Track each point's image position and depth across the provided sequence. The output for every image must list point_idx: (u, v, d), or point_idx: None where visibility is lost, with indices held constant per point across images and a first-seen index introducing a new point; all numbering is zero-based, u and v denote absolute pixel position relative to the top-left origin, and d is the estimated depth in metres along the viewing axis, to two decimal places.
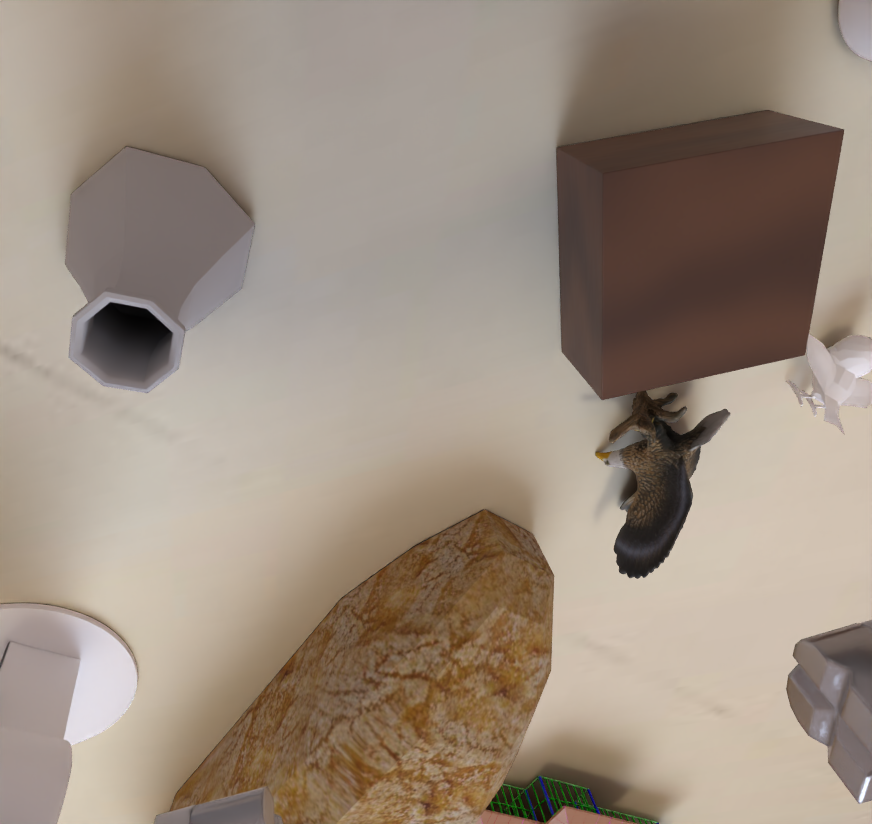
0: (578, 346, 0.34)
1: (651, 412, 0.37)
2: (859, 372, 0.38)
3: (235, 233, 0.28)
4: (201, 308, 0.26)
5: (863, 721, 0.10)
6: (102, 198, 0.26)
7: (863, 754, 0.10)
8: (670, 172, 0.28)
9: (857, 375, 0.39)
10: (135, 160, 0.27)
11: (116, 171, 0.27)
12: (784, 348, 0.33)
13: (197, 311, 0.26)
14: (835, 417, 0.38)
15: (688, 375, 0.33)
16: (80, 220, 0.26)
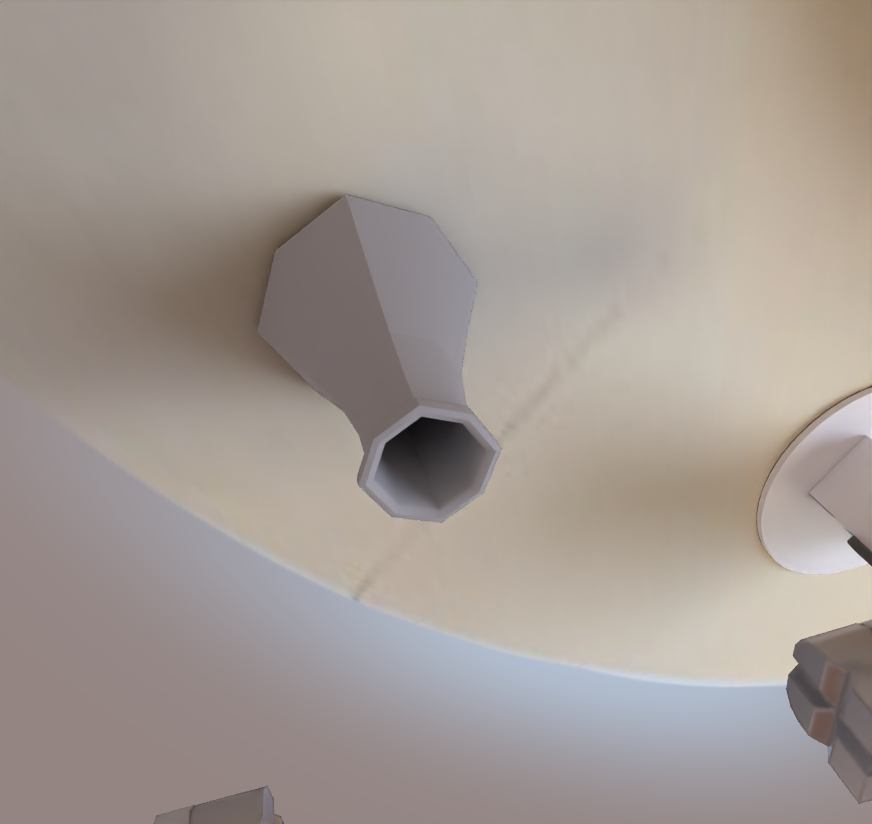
0: None
1: None
2: None
3: (349, 233, 0.22)
4: (429, 310, 0.20)
5: (863, 721, 0.10)
6: (305, 377, 0.23)
7: (863, 755, 0.10)
8: None
9: None
10: (267, 330, 0.24)
11: (279, 353, 0.24)
12: None
13: (430, 320, 0.20)
14: None
15: None
16: (330, 401, 0.24)
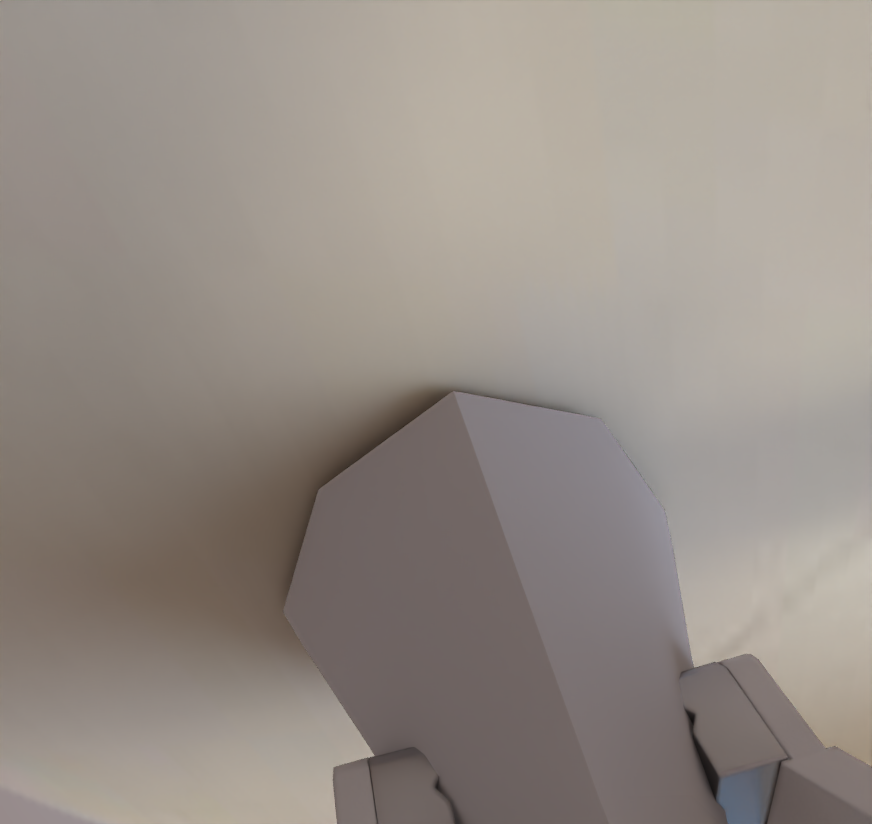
0: None
1: None
2: None
3: (469, 484, 0.11)
4: (656, 691, 0.09)
5: (704, 768, 0.09)
6: None
7: None
8: None
9: None
10: (303, 626, 0.13)
11: None
12: None
13: (666, 723, 0.09)
14: None
15: None
16: None
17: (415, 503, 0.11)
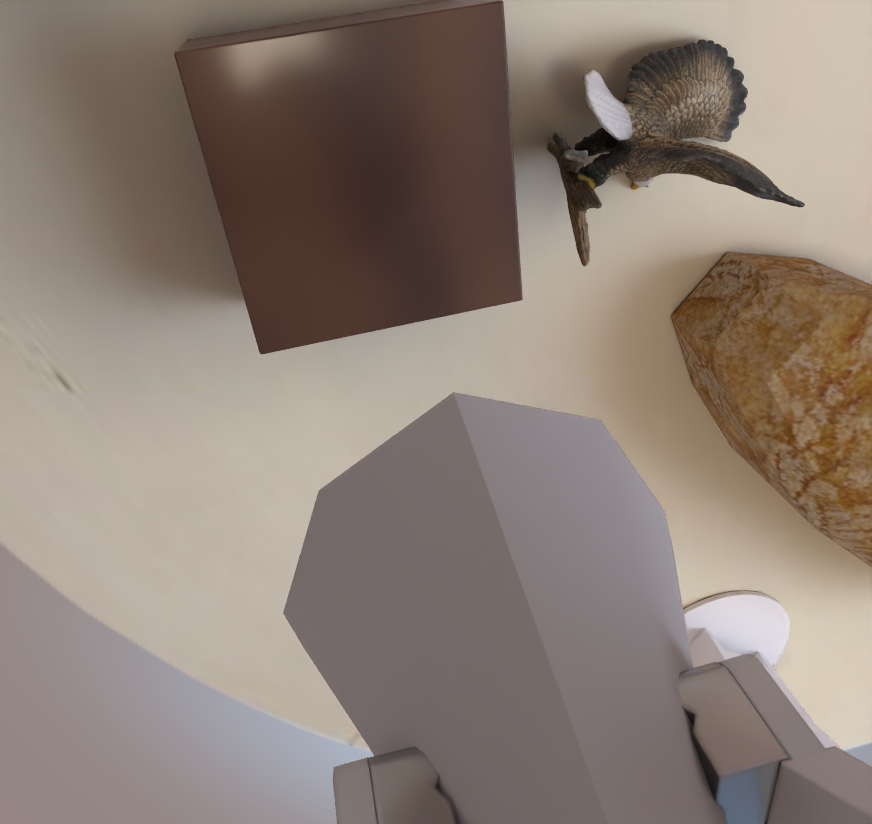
0: None
1: (572, 171, 0.28)
2: None
3: (469, 486, 0.11)
4: (656, 693, 0.09)
5: (704, 767, 0.09)
6: None
7: None
8: (252, 282, 0.25)
9: None
10: (304, 627, 0.13)
11: None
12: (487, 45, 0.23)
13: (665, 725, 0.09)
14: None
15: (507, 193, 0.25)
16: None
17: (415, 504, 0.11)
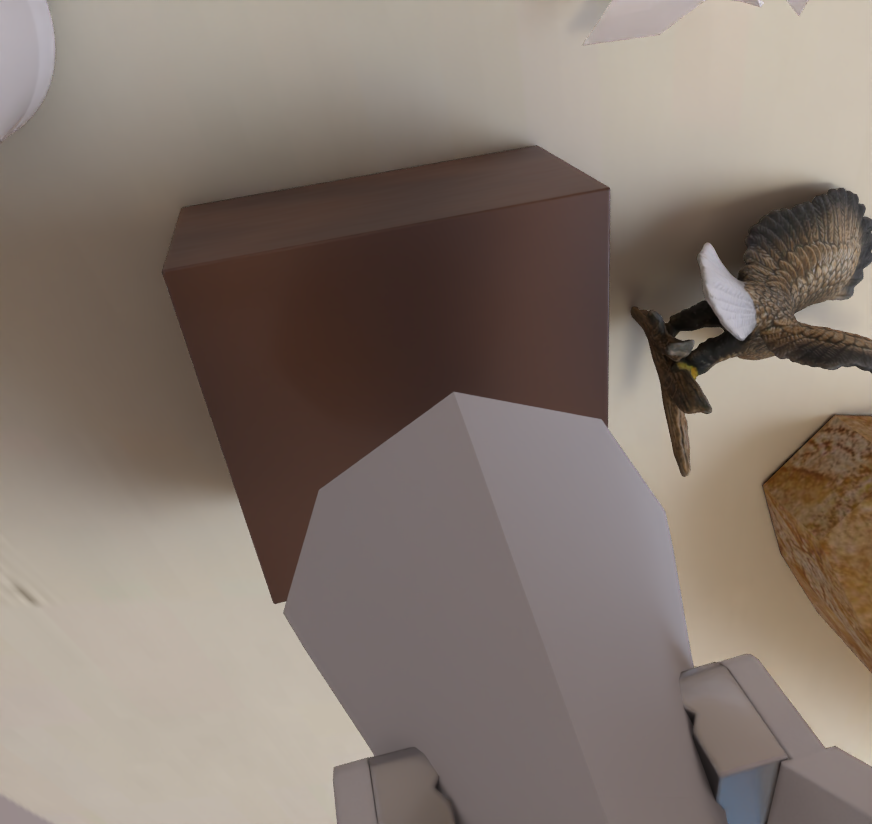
0: None
1: None
2: None
3: (470, 485, 0.11)
4: (657, 692, 0.09)
5: (704, 768, 0.09)
6: None
7: None
8: (265, 528, 0.19)
9: None
10: (303, 626, 0.13)
11: None
12: (585, 242, 0.17)
13: (666, 725, 0.09)
14: None
15: (597, 409, 0.19)
16: None
17: (415, 504, 0.11)
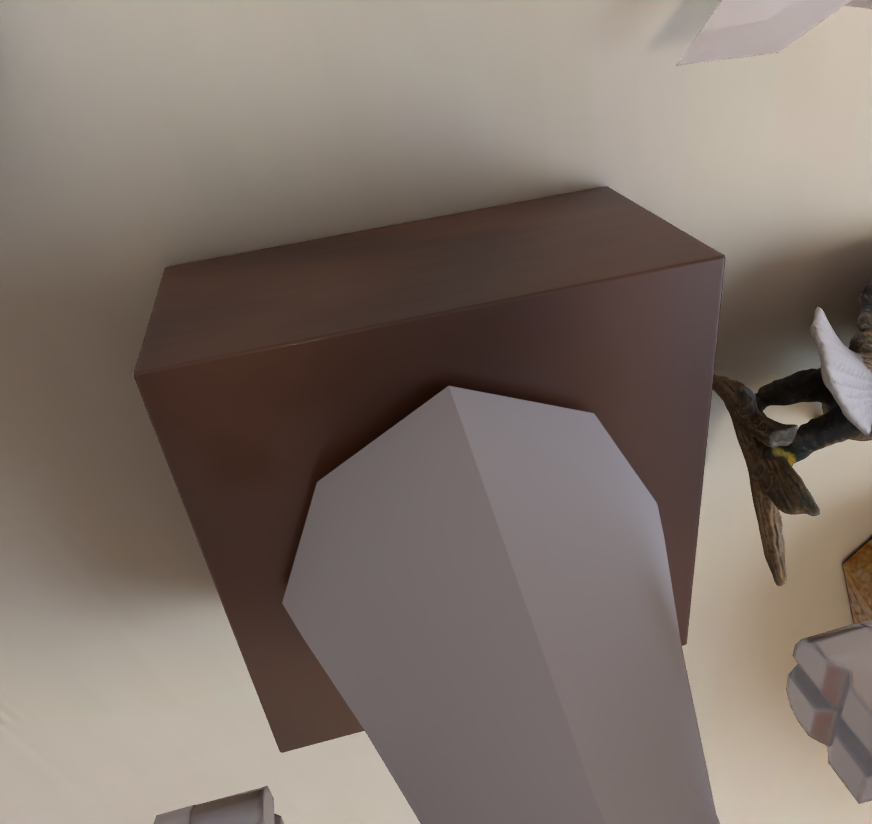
0: None
1: None
2: None
3: (463, 476, 0.11)
4: (645, 677, 0.10)
5: (863, 721, 0.10)
6: None
7: (863, 755, 0.10)
8: (270, 671, 0.15)
9: None
10: (302, 616, 0.13)
11: None
12: (688, 324, 0.13)
13: (654, 707, 0.09)
14: None
15: (686, 519, 0.16)
16: None
17: (411, 495, 0.12)
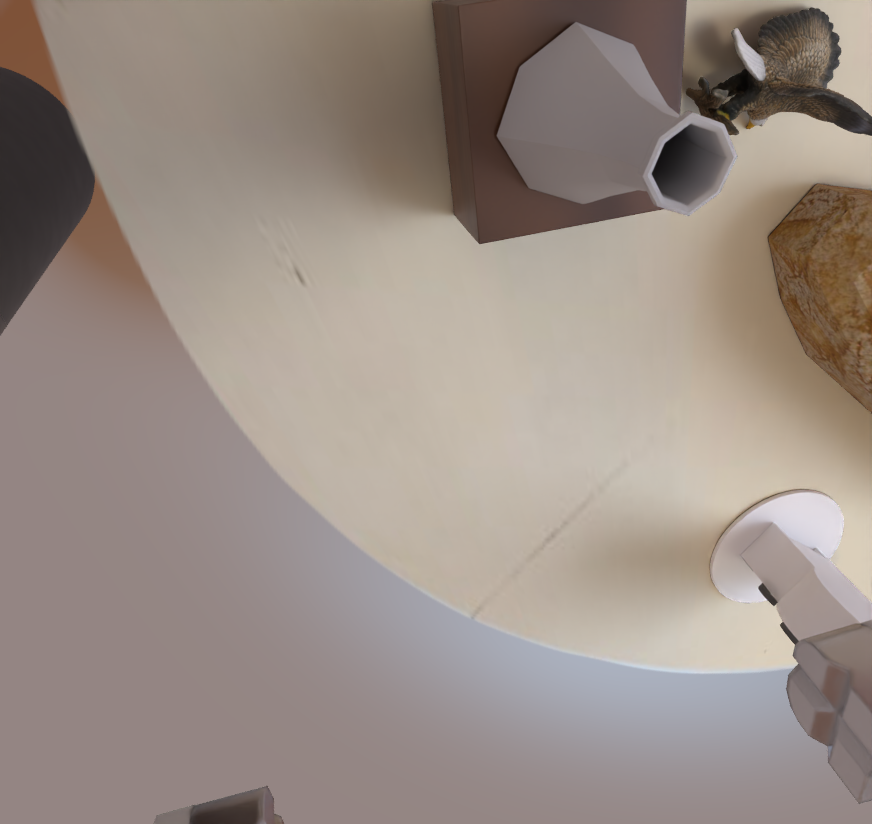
0: None
1: (712, 108, 0.36)
2: None
3: (586, 44, 0.29)
4: (656, 91, 0.28)
5: (863, 721, 0.10)
6: (541, 163, 0.31)
7: (863, 755, 0.10)
8: (483, 185, 0.33)
9: None
10: (510, 129, 0.31)
11: (518, 147, 0.31)
12: (673, 4, 0.31)
13: (659, 95, 0.27)
14: None
15: None
16: (556, 184, 0.31)
17: (564, 56, 0.29)
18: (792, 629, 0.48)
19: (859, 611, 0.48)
